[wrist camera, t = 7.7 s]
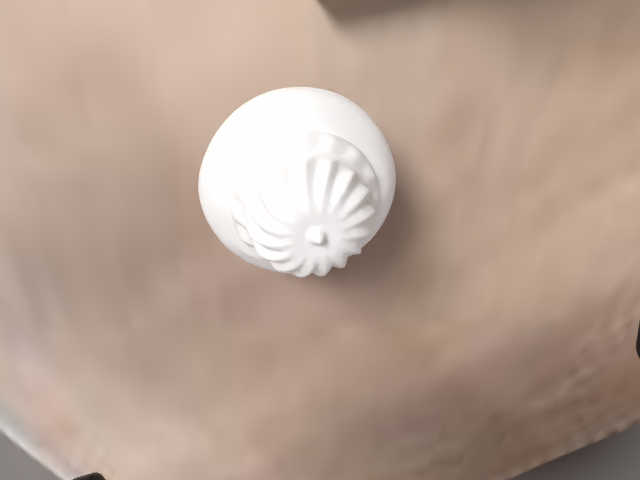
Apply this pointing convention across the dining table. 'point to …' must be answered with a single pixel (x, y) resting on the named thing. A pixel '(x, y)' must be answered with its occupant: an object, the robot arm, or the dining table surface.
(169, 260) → the dining table surface
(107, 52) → the dining table surface
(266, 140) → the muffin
